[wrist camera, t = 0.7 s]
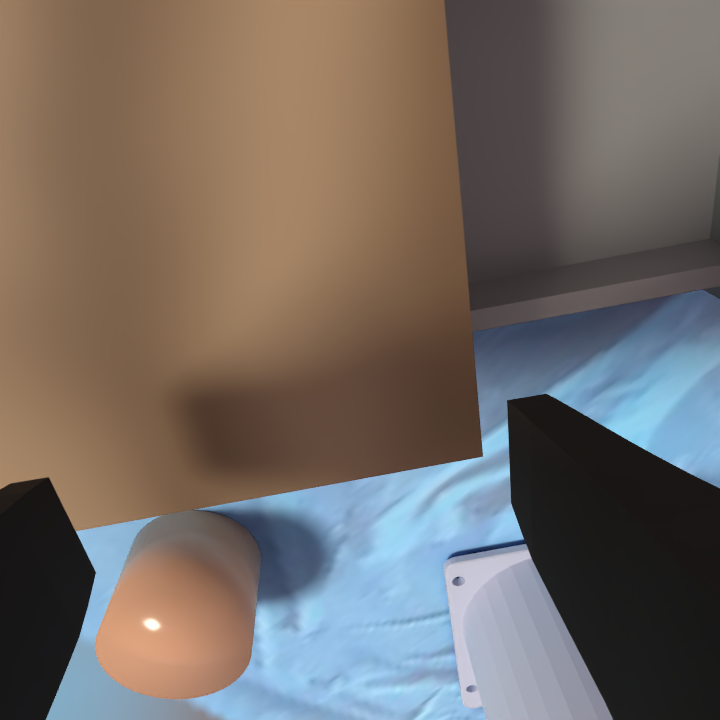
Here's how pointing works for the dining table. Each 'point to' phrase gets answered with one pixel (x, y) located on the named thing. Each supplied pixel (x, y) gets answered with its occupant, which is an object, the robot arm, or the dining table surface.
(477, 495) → the dining table surface
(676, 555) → the robot arm
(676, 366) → the dining table surface
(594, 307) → the grey drawer
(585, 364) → the dining table surface
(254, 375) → the housing
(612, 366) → the dining table surface
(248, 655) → the tan rounded cylinder
